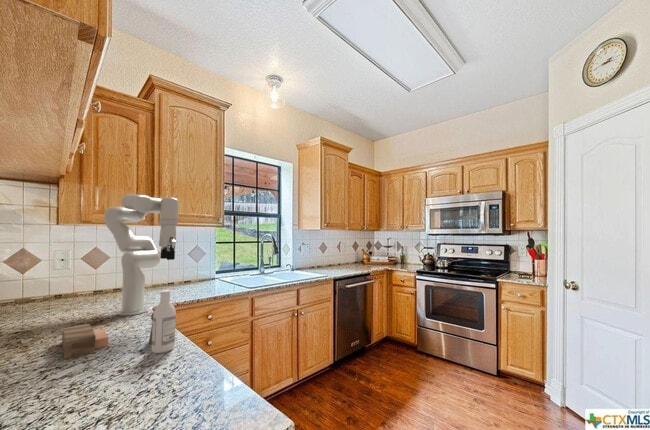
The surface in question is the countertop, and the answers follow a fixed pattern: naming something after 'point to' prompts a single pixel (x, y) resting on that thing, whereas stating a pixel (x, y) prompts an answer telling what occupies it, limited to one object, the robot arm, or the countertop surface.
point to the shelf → (78, 340)
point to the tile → (100, 339)
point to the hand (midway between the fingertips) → (167, 259)
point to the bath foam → (164, 325)
